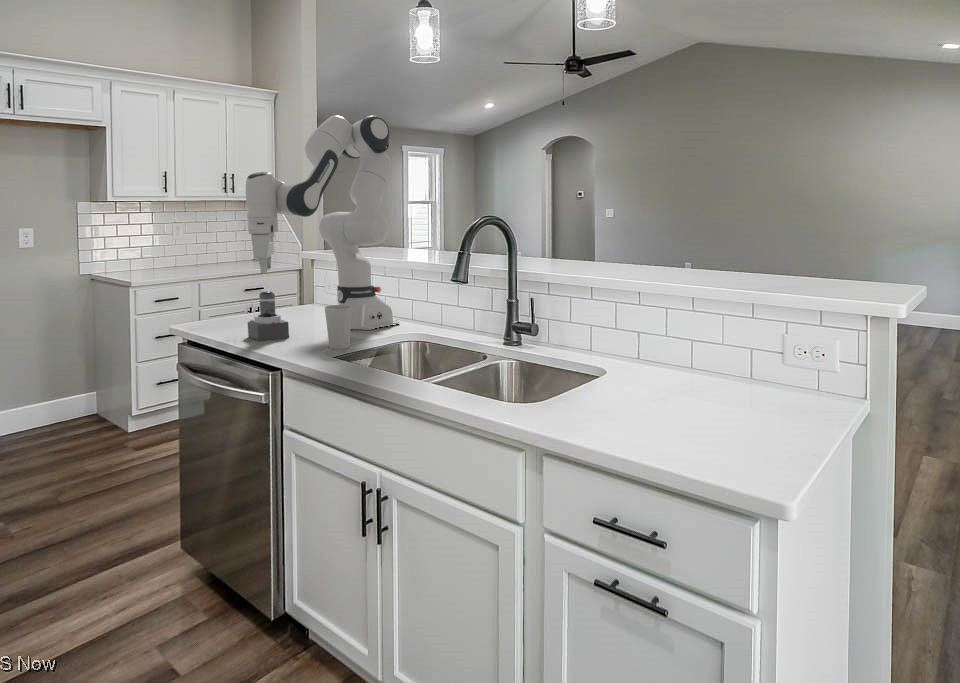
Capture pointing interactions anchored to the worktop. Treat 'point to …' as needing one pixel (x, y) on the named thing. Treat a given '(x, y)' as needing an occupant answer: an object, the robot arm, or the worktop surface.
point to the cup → (338, 325)
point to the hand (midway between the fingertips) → (266, 271)
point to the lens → (267, 304)
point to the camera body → (268, 328)
